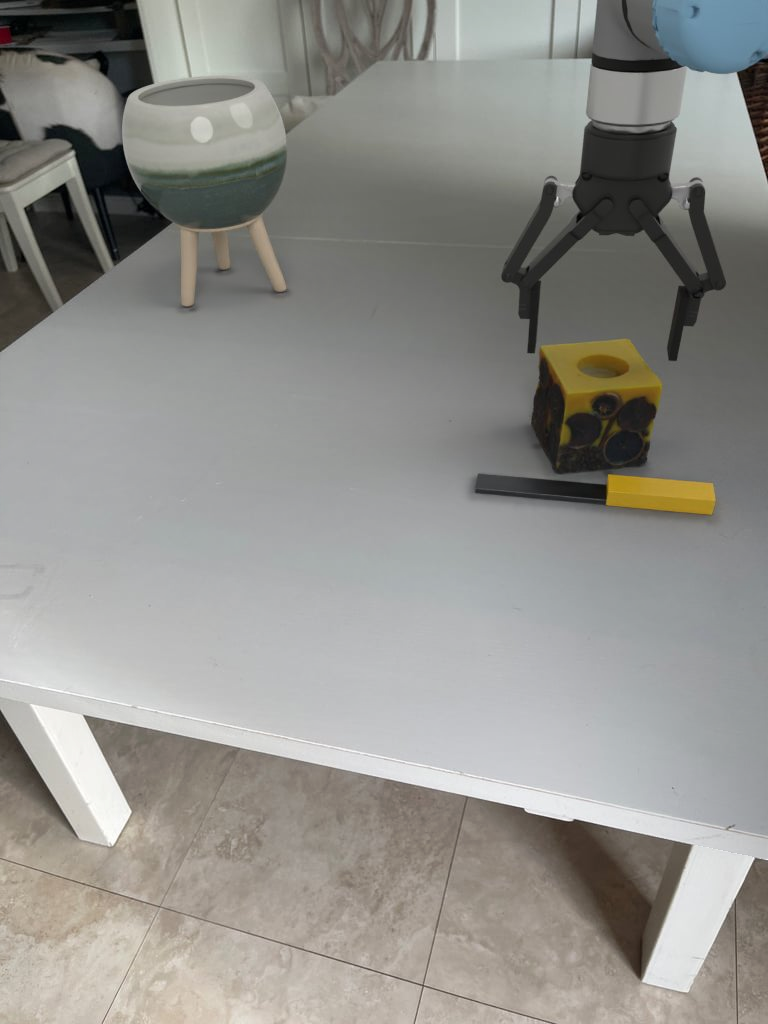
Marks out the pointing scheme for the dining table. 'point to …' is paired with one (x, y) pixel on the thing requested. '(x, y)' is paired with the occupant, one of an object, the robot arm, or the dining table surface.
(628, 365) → the candle
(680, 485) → the knife
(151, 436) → the dining table surface
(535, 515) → the dining table surface
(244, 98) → the planter
